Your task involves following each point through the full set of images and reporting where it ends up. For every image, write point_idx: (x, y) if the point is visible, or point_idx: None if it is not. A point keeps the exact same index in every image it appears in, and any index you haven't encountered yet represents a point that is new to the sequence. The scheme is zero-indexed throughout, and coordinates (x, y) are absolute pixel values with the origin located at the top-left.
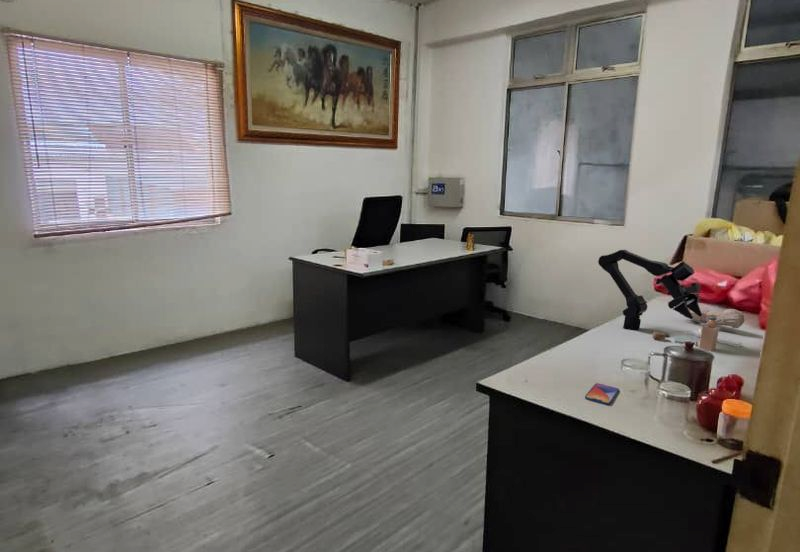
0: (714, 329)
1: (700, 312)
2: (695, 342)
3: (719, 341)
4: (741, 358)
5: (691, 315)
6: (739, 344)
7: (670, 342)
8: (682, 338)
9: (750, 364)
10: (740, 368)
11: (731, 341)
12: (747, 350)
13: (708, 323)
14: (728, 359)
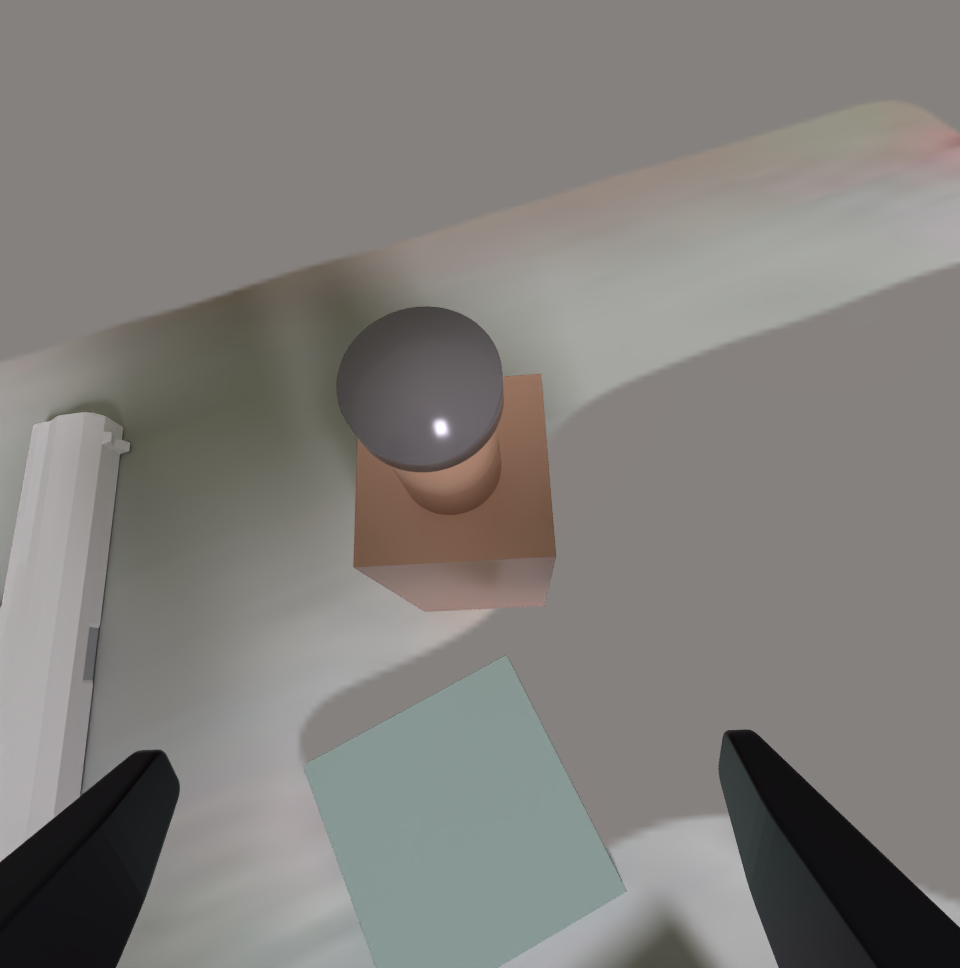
0: (541, 381)
1: (103, 814)
2: (439, 696)
3: (100, 586)
4: (490, 277)
5: (798, 786)
6: (95, 417)
7: (678, 922)
8: (411, 886)
9: (589, 190)
10: (781, 181)
11: (83, 477)
12: (180, 345)
13: (480, 481)
14: (637, 310)
